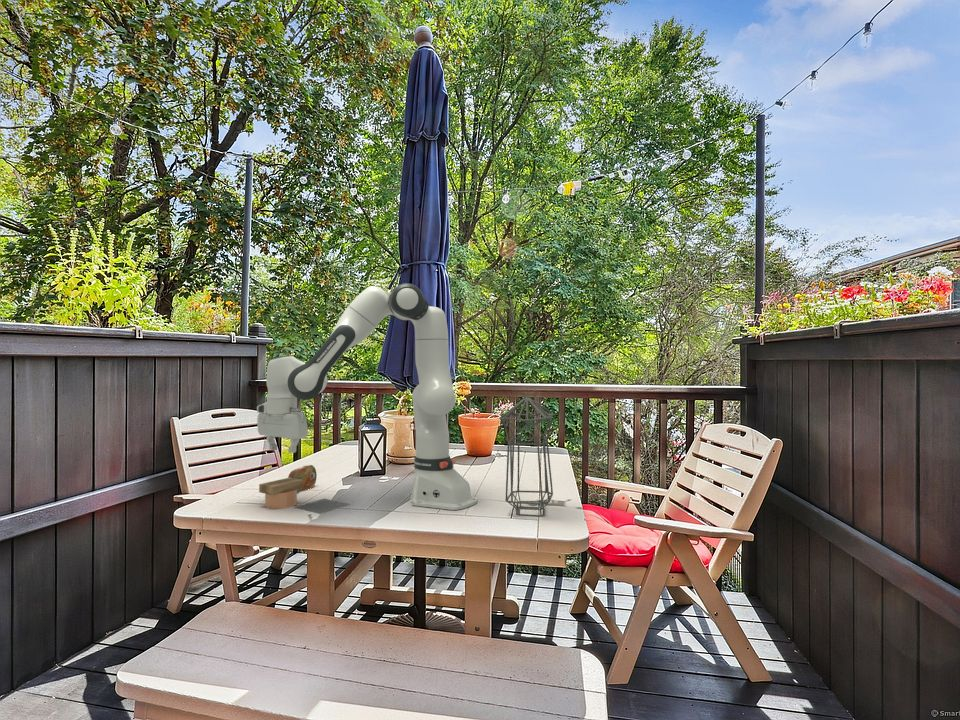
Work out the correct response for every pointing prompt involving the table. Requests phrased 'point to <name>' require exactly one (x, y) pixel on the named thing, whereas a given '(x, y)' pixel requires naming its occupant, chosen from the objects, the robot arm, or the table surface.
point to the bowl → (281, 500)
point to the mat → (322, 506)
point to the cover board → (280, 486)
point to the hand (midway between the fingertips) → (282, 451)
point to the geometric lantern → (545, 416)
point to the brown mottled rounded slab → (305, 476)
